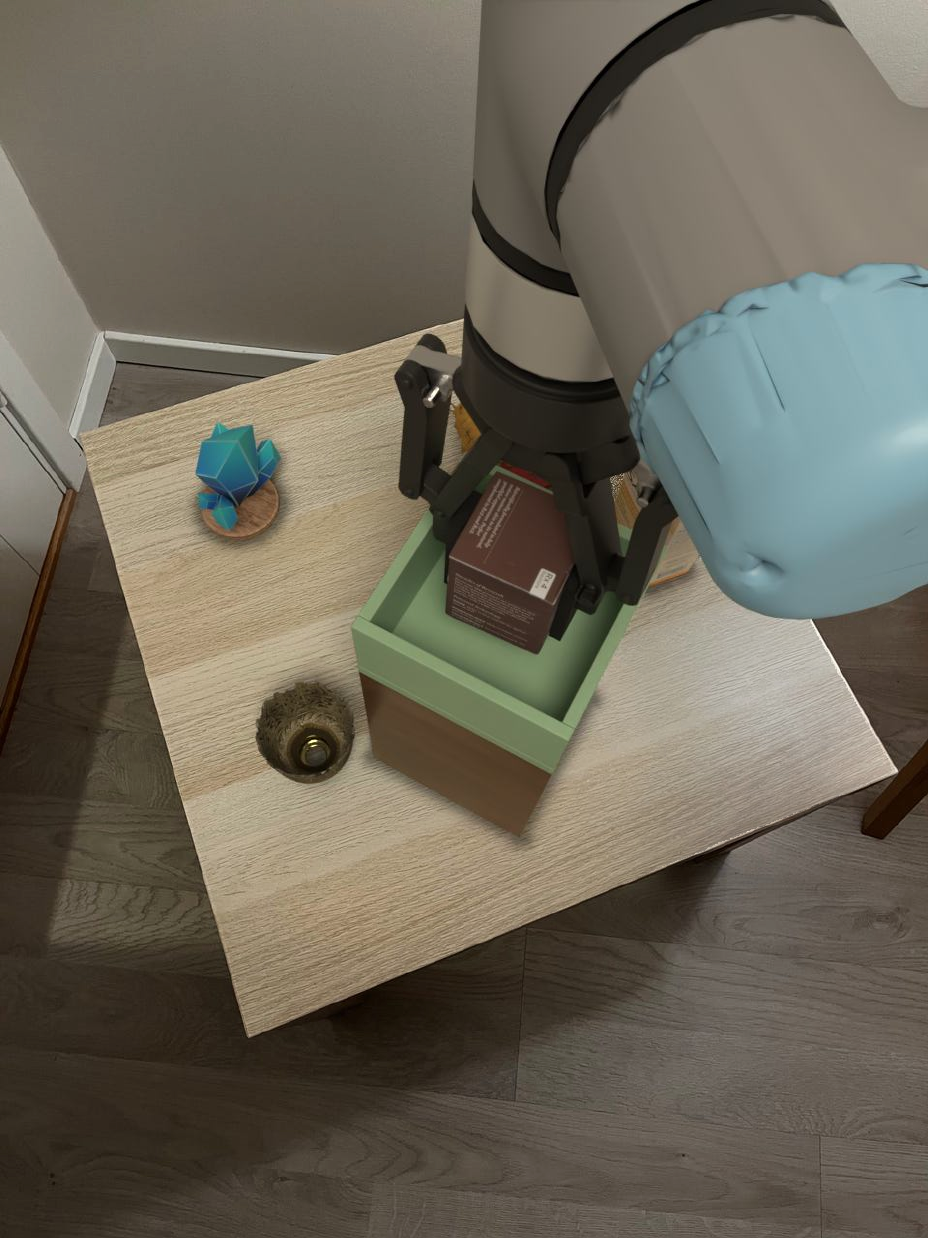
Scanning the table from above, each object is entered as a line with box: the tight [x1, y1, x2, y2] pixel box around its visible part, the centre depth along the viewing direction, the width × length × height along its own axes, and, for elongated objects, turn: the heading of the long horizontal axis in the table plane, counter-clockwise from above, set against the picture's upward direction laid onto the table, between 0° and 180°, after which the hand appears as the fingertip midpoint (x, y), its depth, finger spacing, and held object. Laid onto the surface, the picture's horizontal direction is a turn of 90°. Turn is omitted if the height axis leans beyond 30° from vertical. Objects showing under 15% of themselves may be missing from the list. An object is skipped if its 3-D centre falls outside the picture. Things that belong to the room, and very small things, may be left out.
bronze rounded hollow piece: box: [254, 680, 356, 785], centre depth 71 cm, size 8×7×8 cm
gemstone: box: [194, 421, 282, 540], centre depth 79 cm, size 7×9×12 cm
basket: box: [350, 451, 668, 775], centre depth 55 cm, size 14×14×7 cm
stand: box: [358, 651, 616, 839], centre depth 67 cm, size 14×14×20 cm
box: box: [445, 471, 576, 655], centre depth 50 cm, size 6×6×7 cm
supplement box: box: [614, 470, 700, 588], centre depth 78 cm, size 8×5×13 cm, turn 21°
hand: (512, 593), depth 53 cm, fingers closed on box, 6 cm apart
